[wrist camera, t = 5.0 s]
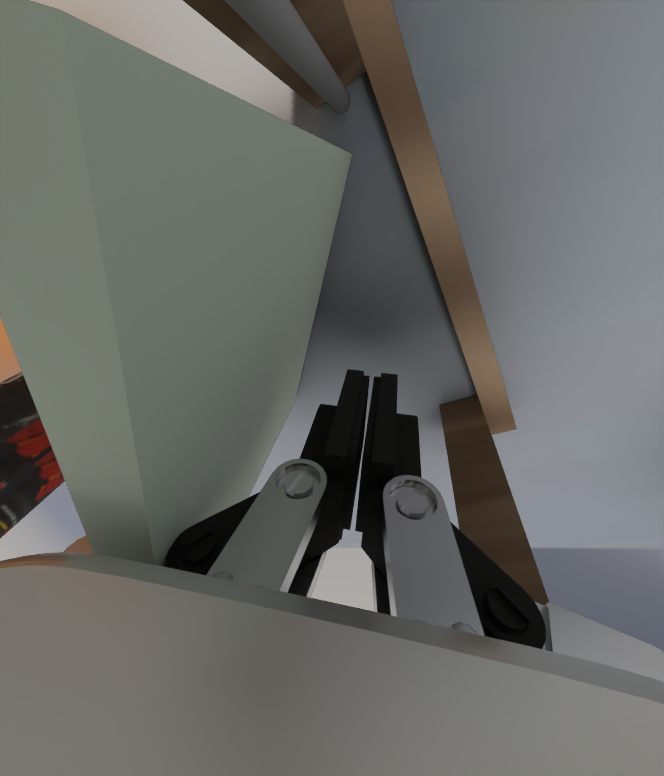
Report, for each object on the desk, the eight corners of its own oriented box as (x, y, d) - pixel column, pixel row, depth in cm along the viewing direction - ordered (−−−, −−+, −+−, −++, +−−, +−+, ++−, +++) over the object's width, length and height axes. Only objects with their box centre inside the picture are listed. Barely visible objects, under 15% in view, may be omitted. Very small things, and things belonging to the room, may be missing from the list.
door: (308, 83, 11) (-759, -1003, 1) (364, 100, 11) (-80, -810, 1) (262, 391, 18) (101, 633, 9) (294, 402, 18) (170, 657, 9)
